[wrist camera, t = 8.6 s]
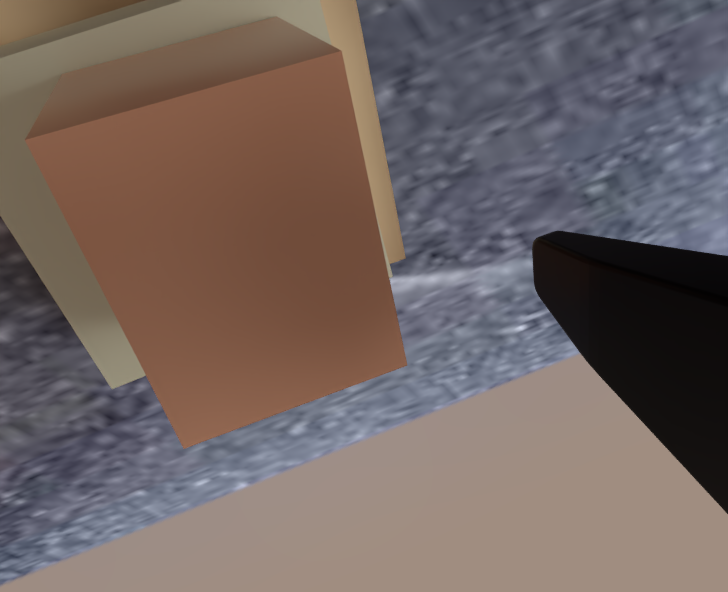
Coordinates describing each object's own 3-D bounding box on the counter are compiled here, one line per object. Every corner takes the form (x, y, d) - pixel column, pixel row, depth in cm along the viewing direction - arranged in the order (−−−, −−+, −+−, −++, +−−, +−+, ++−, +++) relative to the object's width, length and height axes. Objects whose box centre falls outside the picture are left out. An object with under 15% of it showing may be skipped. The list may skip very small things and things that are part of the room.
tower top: (280, -43, 15) (309, -40, 13) (359, 234, 20) (392, 276, 17) (-47, 60, 14) (-84, 84, 12) (114, 330, 19) (111, 389, 16)
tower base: (309, -83, 18) (339, -88, 15) (375, 225, 23) (405, 258, 21) (-53, 6, 16) (-86, 18, 14) (109, 315, 21) (106, 363, 19)
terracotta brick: (276, 16, 13) (341, 50, 9) (338, 258, 16) (407, 365, 12) (61, 73, 12) (24, 139, 8) (170, 314, 16) (183, 448, 11)
